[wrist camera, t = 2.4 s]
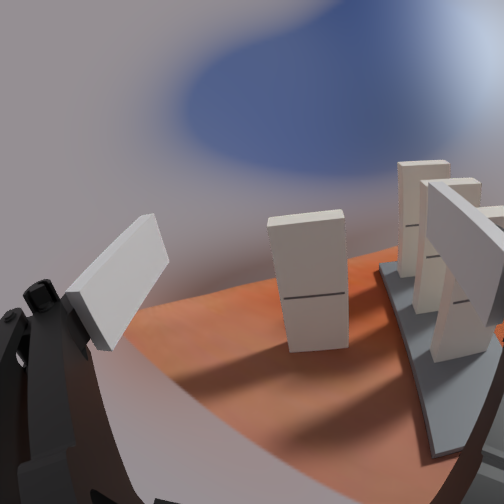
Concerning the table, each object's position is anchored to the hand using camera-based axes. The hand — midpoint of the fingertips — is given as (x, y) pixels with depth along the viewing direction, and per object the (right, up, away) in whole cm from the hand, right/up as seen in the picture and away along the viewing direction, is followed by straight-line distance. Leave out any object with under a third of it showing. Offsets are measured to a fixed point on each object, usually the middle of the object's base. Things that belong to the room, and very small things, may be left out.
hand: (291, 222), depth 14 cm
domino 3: (+19, -7, +16) cm, 25 cm away
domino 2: (+20, -4, +22) cm, 29 cm away
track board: (+18, -10, +13) cm, 25 cm away
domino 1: (+5, -11, +17) cm, 21 cm away
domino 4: (+18, -11, +10) cm, 23 cm away
